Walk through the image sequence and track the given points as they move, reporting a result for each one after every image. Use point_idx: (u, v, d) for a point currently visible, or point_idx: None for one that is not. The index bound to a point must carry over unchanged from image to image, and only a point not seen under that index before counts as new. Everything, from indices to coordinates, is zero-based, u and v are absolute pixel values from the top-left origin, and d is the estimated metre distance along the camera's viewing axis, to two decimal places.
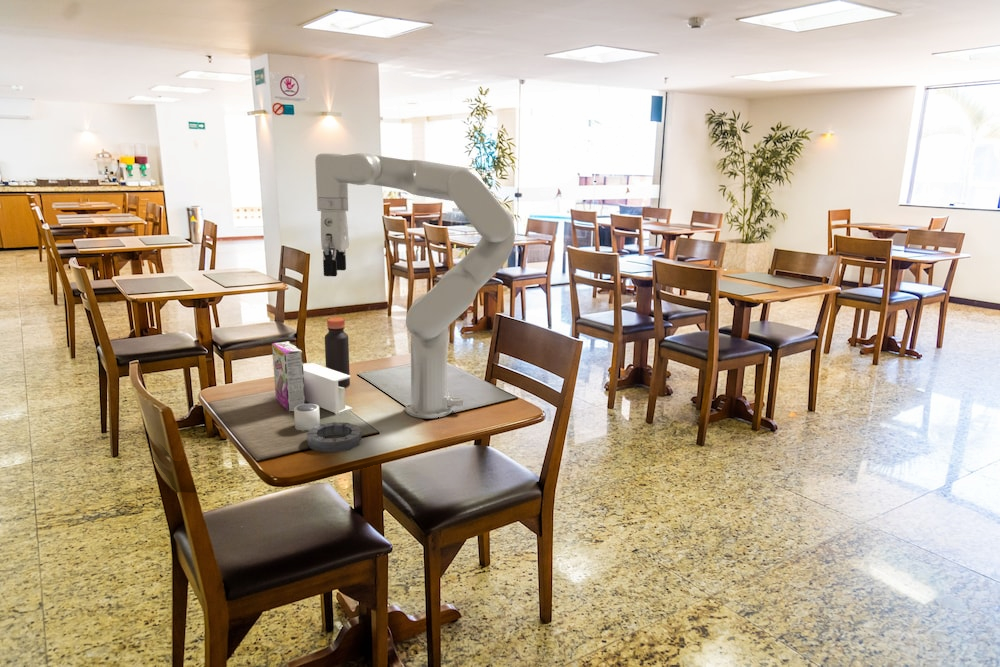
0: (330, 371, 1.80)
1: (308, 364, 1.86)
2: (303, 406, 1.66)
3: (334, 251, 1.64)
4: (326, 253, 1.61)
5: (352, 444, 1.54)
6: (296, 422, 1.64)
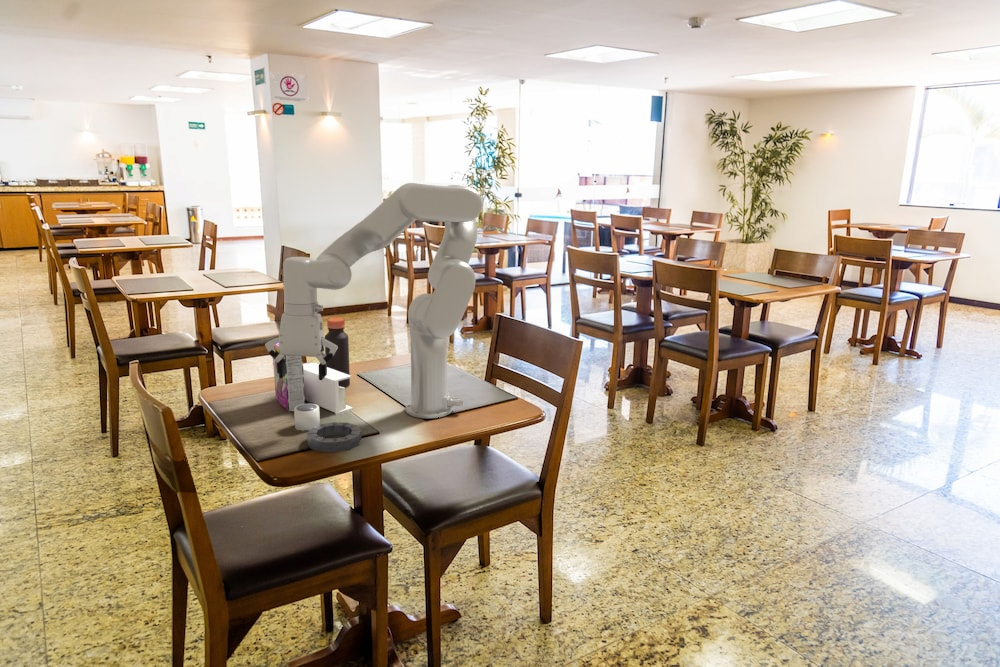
0: (331, 371, 1.81)
1: (310, 364, 1.86)
2: (303, 406, 1.66)
3: (323, 353, 1.63)
4: (333, 355, 1.62)
5: (352, 444, 1.54)
6: (296, 422, 1.64)
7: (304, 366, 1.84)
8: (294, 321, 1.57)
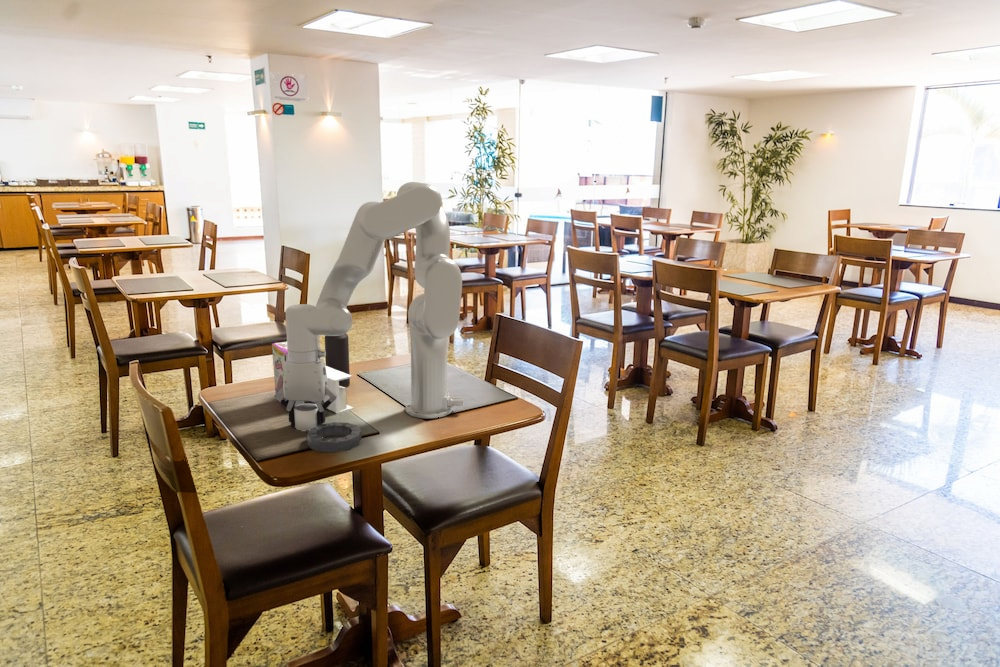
0: (332, 370, 1.81)
1: None
2: (303, 406, 1.66)
3: (323, 399, 1.66)
4: (330, 403, 1.65)
5: (352, 444, 1.54)
6: (296, 422, 1.64)
7: None
8: (298, 368, 1.60)
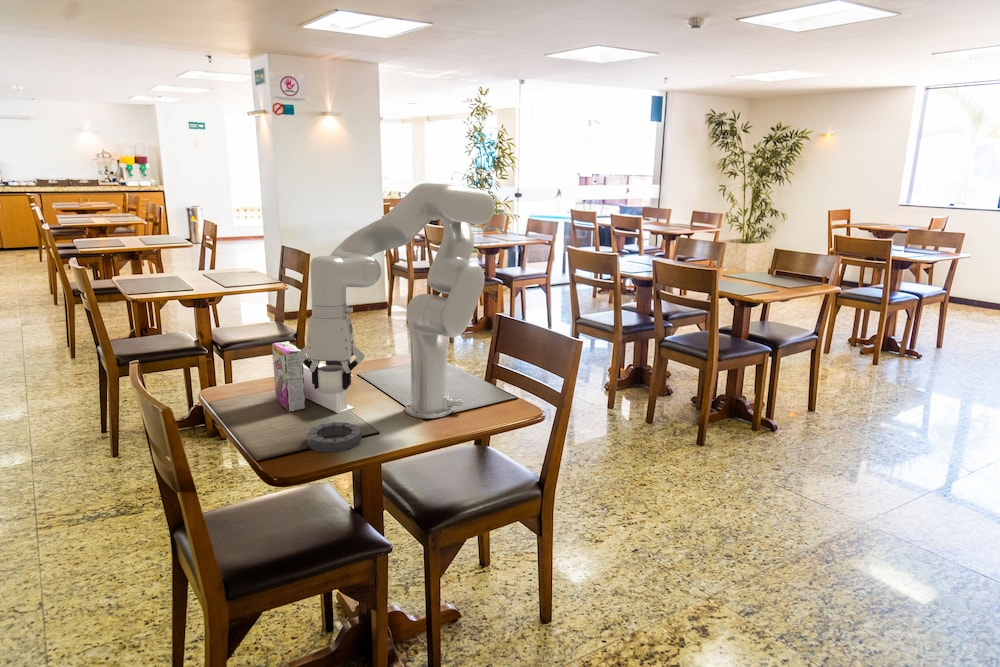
0: None
1: None
2: (327, 367, 1.54)
3: (349, 360, 1.54)
4: None
5: (352, 444, 1.54)
6: (320, 384, 1.52)
7: None
8: (323, 324, 1.48)
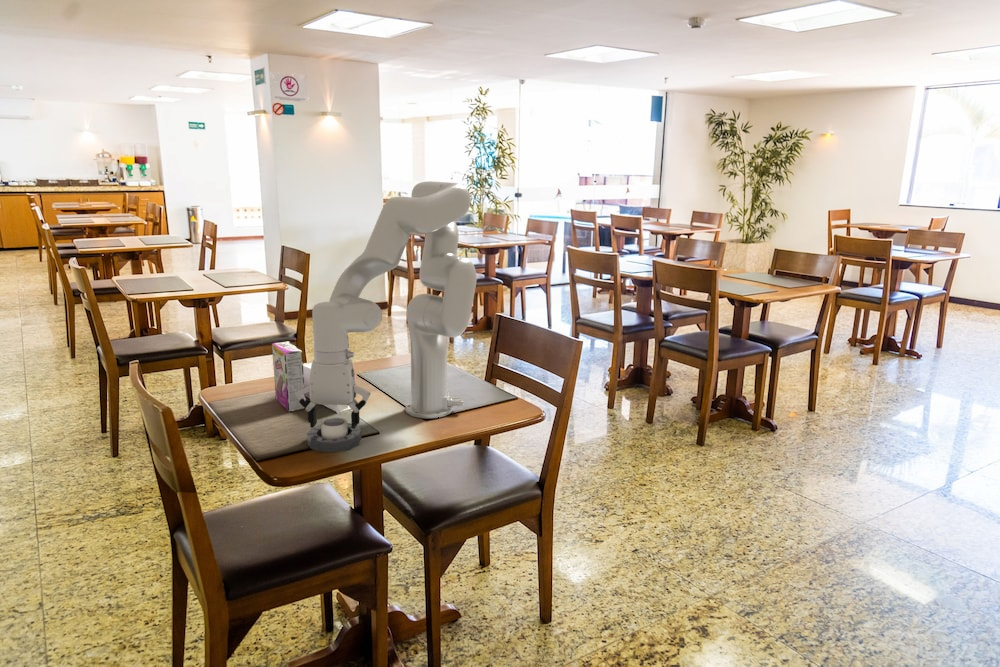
0: None
1: None
2: (330, 420, 1.57)
3: (355, 399, 1.57)
4: None
5: (352, 444, 1.54)
6: (323, 437, 1.55)
7: (310, 365, 1.86)
8: (325, 369, 1.51)
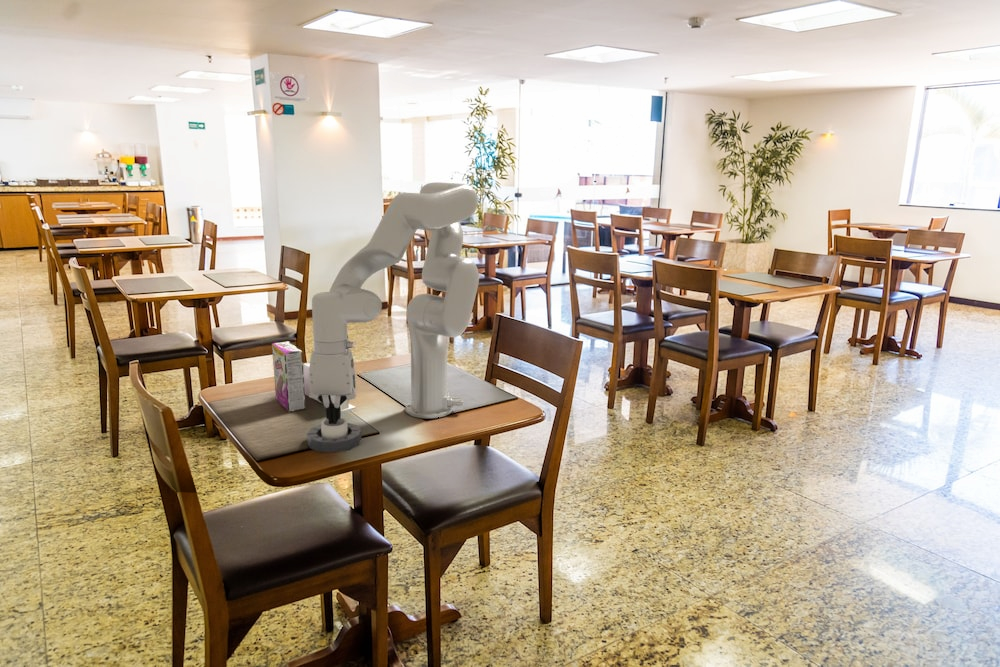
0: None
1: None
2: None
3: None
4: None
5: (352, 444, 1.54)
6: (323, 437, 1.55)
7: None
8: (325, 360, 1.50)
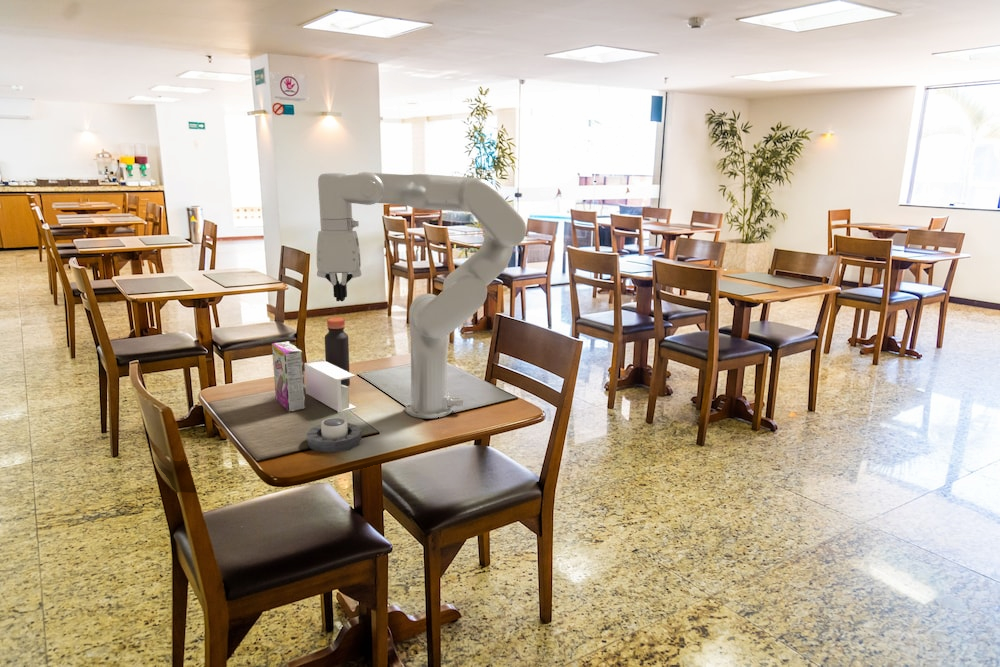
0: (337, 369, 1.82)
1: (320, 362, 1.89)
2: (330, 420, 1.57)
3: None
4: None
5: (352, 444, 1.54)
6: (323, 437, 1.55)
7: (313, 364, 1.86)
8: (332, 237, 1.59)
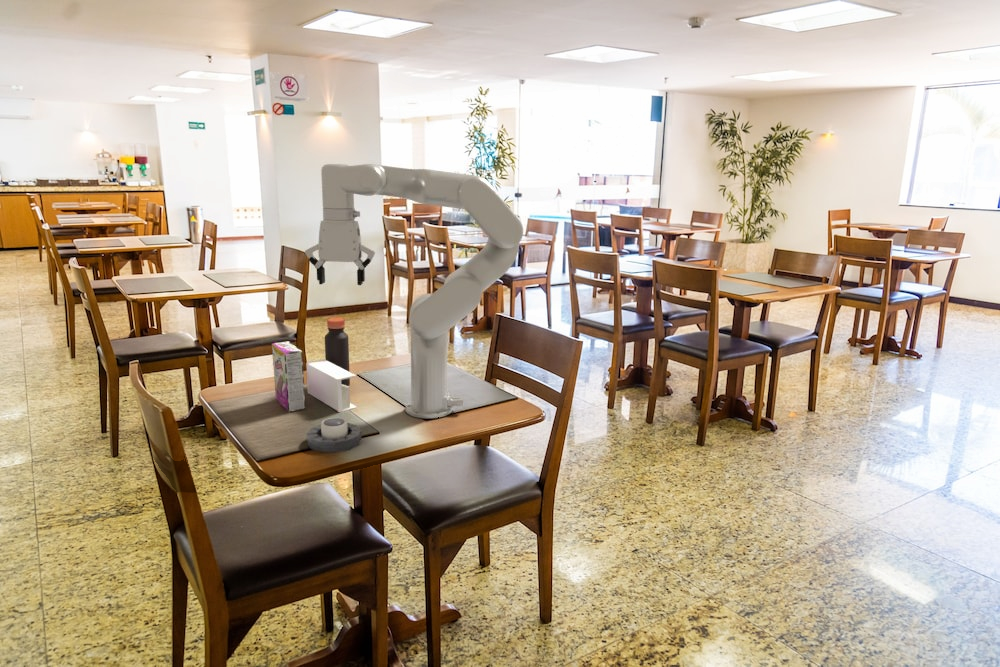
0: (338, 369, 1.82)
1: (321, 361, 1.89)
2: (330, 420, 1.57)
3: None
4: (370, 261, 1.67)
5: (352, 444, 1.54)
6: (323, 437, 1.55)
7: (315, 363, 1.87)
8: (333, 226, 1.63)
